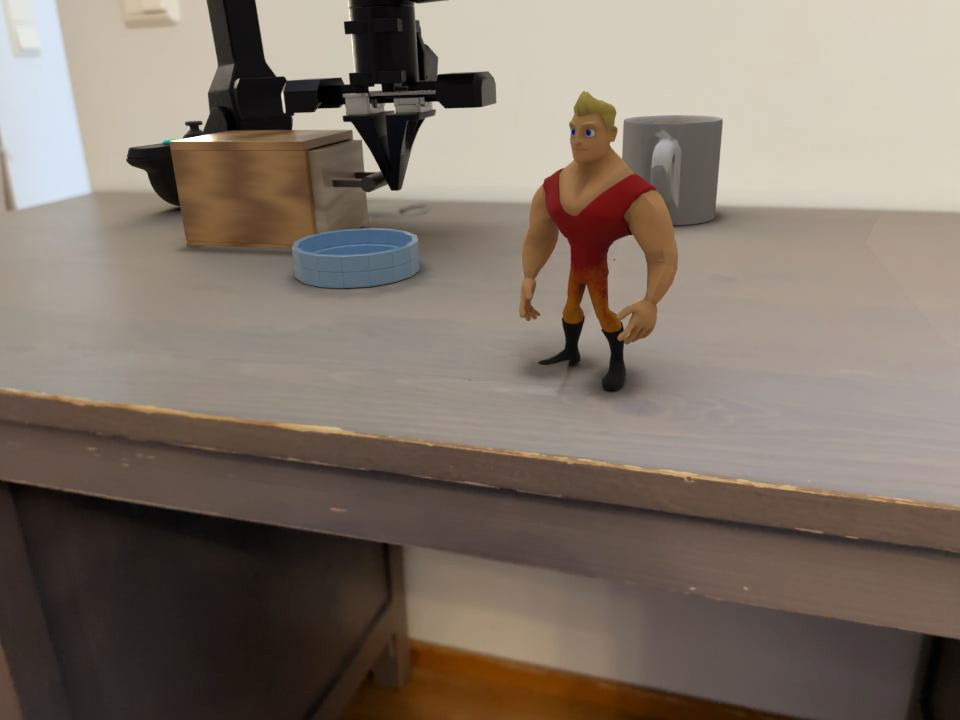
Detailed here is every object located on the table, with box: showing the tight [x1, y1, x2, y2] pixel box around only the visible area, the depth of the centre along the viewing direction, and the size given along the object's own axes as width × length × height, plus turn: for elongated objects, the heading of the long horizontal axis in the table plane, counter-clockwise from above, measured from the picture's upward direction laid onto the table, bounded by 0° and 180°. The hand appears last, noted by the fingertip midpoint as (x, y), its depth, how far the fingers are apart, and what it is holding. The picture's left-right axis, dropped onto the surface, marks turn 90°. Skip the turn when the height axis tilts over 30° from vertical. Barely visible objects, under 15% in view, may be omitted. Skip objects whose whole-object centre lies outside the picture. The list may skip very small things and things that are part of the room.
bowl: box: [291, 227, 421, 289], centre depth 63 cm, size 10×10×3 cm
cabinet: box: [169, 129, 354, 250], centre depth 76 cm, size 14×11×10 cm
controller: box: [125, 120, 203, 207], centre depth 95 cm, size 4×12×10 cm, turn 151°
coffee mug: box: [621, 114, 724, 226], centre depth 81 cm, size 13×10×10 cm
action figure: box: [518, 90, 679, 391], centre depth 41 cm, size 10×4×15 cm, turn 49°
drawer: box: [308, 139, 388, 234], centre depth 75 cm, size 17×9×8 cm, turn 75°
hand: (396, 190), depth 73 cm, fingers closed
